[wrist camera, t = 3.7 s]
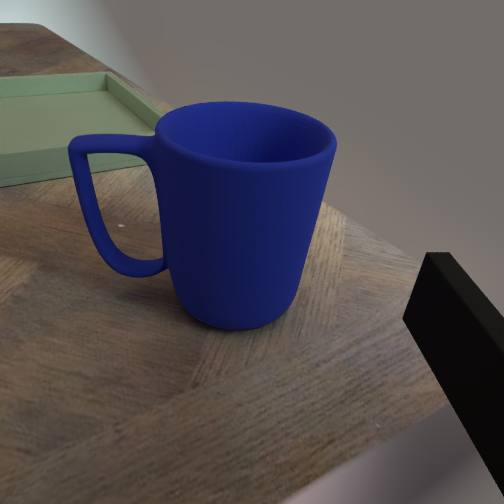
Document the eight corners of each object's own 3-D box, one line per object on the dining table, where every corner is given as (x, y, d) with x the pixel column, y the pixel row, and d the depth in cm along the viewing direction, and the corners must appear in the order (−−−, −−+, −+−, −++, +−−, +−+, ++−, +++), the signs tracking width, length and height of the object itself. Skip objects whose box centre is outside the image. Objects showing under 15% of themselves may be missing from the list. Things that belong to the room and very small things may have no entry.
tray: (187, 158, 42) (187, 130, 41) (-31, 192, 34) (-40, 159, 32) (112, 93, 57) (110, 71, 55) (-53, 105, 48) (-61, 80, 47)
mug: (105, 253, 29) (85, 91, 23) (293, 257, 30) (318, 105, 25) (73, 350, 22) (35, 155, 17) (317, 350, 23) (358, 169, 18)
